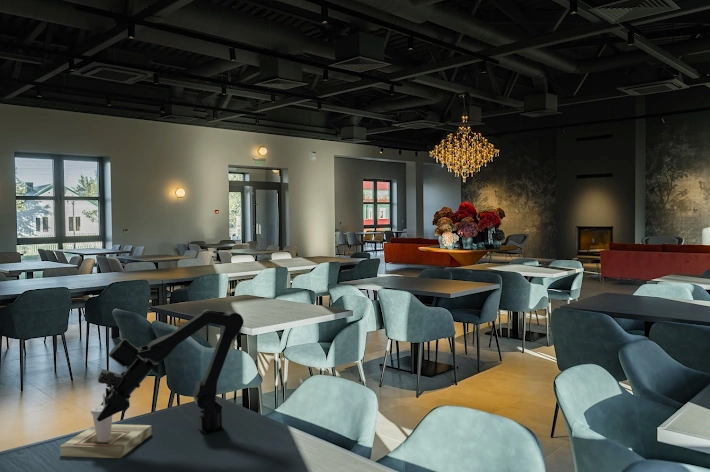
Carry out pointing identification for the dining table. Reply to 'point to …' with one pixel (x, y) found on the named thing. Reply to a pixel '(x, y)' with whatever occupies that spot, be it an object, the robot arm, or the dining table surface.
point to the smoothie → (102, 423)
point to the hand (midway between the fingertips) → (97, 417)
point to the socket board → (118, 445)
